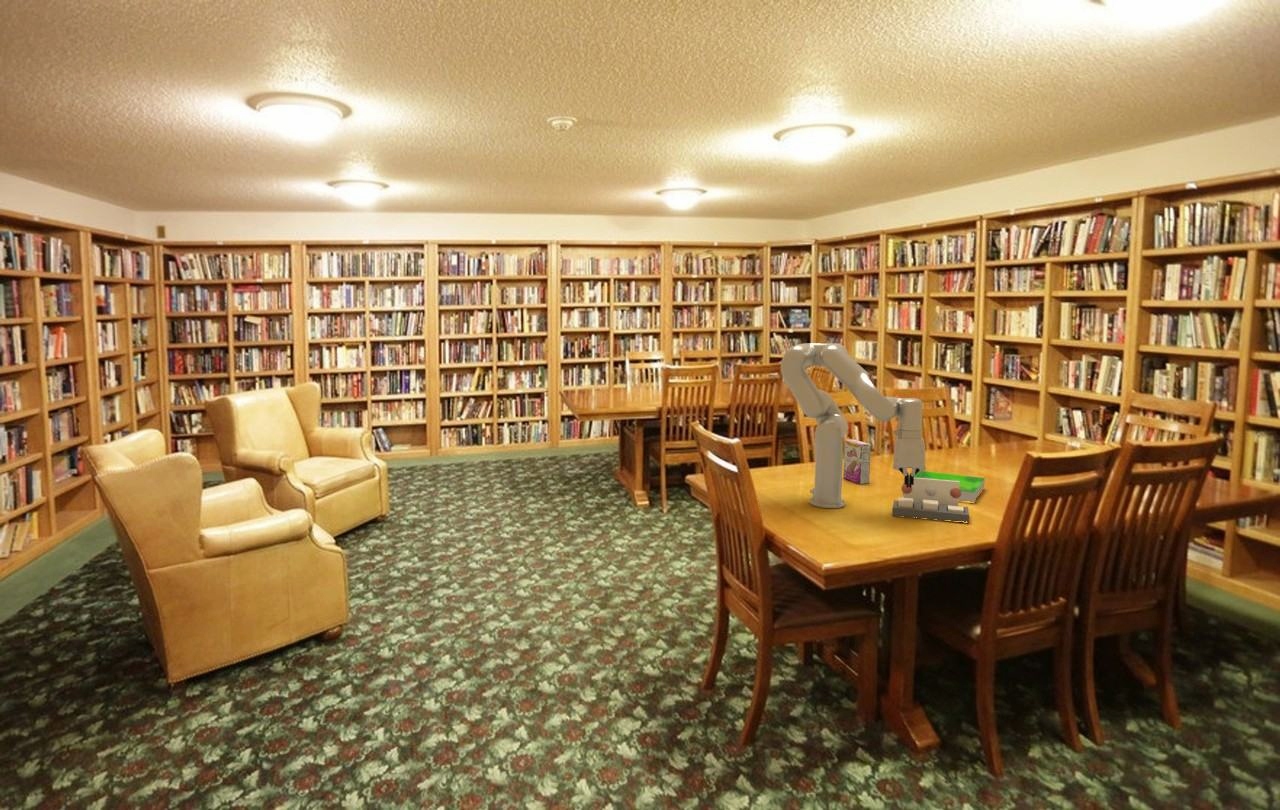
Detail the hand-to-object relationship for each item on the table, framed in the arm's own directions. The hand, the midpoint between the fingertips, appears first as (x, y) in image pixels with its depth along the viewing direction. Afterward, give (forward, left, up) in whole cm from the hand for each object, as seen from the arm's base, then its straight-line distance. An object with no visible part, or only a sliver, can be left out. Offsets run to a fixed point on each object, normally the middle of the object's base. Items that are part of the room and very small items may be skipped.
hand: (909, 486), depth 251 cm
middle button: (+5, +5, -8) cm, 11 cm away
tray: (-17, +34, -10) cm, 40 cm away
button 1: (-1, -1, -8) cm, 8 cm away
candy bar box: (-44, +14, -10) cm, 47 cm away
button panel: (+4, +6, -10) cm, 12 cm away
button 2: (+11, +11, -9) cm, 18 cm away
